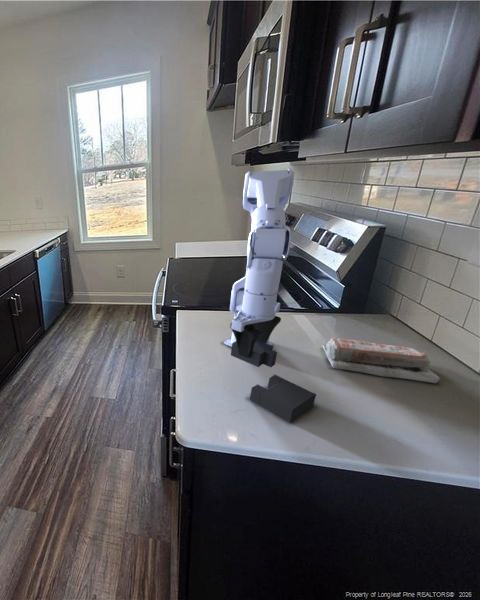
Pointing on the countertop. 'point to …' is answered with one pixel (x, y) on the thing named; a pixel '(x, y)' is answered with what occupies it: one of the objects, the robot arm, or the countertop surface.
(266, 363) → the graphite pad
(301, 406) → the black pad
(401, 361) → the packaged product
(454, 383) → the countertop surface
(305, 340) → the countertop surface
